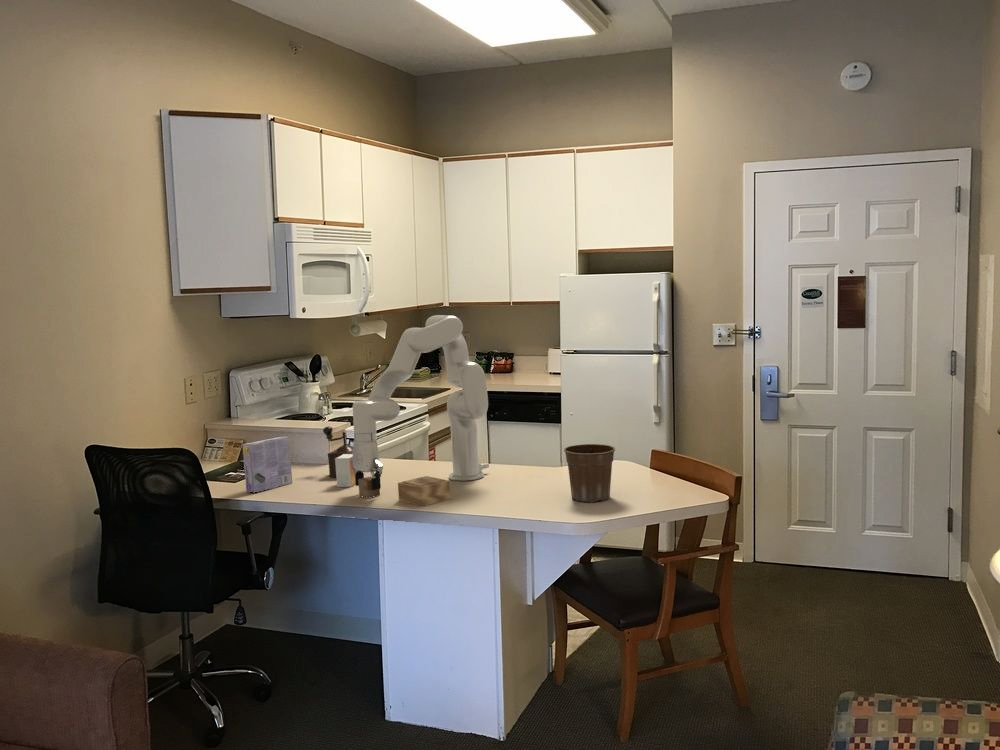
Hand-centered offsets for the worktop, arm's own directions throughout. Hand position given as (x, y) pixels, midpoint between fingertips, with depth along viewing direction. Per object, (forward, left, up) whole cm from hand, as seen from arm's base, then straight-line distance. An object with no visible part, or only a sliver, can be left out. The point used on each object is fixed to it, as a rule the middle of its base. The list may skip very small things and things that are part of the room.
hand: (368, 487), depth 308 cm
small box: (-5, -21, -3) cm, 22 cm away
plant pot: (-42, +63, -3) cm, 76 cm away
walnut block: (0, 0, -3) cm, 3 cm away
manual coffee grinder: (-13, -38, -3) cm, 40 cm away
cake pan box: (+15, -41, -3) cm, 44 cm away
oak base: (-8, +20, -3) cm, 22 cm away
